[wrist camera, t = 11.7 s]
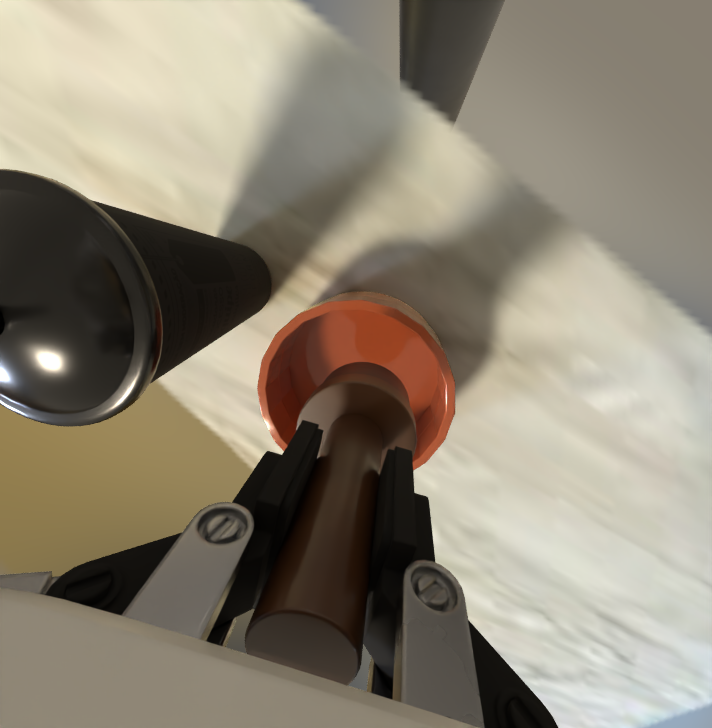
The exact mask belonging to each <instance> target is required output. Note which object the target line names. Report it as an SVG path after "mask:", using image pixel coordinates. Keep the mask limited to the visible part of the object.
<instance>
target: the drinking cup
mask: <svg viewBox="0 0 712 728" xmlns="http://www.w3.org/2000/svg"><path fill="white" fill-rule="evenodd" d="M270 292H271V278H270V273H269V270H268V268H267V266H266V264H265V262H264V261H263V259H262V258H261V257H260V256H259V255H258V254H257V253H256V252H255V251H253V250H252V249H250V248H248V247H246V246H244V245H241V244H237V243H234V242H230V241H227V240H224V239H220V238H217V237H214V236H210V235H207V234H203V233H200V232H197V231H193V230H190V229H186V228H183V227H180V226H176V225H173V224H170V223H166V222H163V221H159V220H156V219H153V218H149V217H146V216H143V215H139V214H136V213H132V212H129V211H126V210H122V209H119V208H116V207H112V206H109V205H105V204H102V203H99V202H95V201H92V200H89V199H88V198H86V197H85V196H83V195H82V194H81V193H79V192H77V191H76V190H74V189H72V188H70V187H68V186H66V185H65V184H62V183H60V182H58V181H55V180H53V179H50V178H47V177H44V176H41V175H37V174H33V173H28V172H23V171H18V170H9V169H0V404H1V405H3V406H4V407H6V408H8V409H9V410H11V411H13V412H15V413H17V414H19V415H22V416H24V417H26V418H29V419H32V420H35V421H38V422H41V423H46V424H50V425H57V426H83V425H90V424H94V423H98V422H101V421H104V420H107V419H109V418H111V417H113V416H115V415H117V414H118V413H120V412H122V411H123V410H125V409H126V408H128V407H129V406H130V405H132V404H133V403H134V402H135V401H136V400H137V399H138V398H139V397H140V396H141V395H142V394H143V392H144V391H145V390H146V388H147V386H148V385H149V384H150V383H152V382H153V381H155V380H156V379H158V378H159V377H161V376H162V375H164V374H165V373H167V372H168V371H170V370H171V369H173V368H174V367H176V366H177V365H179V364H180V363H182V362H183V361H185V360H186V359H188V358H189V357H191V356H192V355H194V354H196V353H197V352H199V351H200V350H202V349H203V348H205V347H206V346H208V345H209V344H211V343H212V342H214V341H215V340H217V339H218V338H220V337H221V336H223V335H224V334H226V333H227V332H229V331H230V330H232V329H233V328H235V327H236V326H238V325H239V324H241V323H242V322H244V321H245V320H247V319H248V318H250V317H251V316H253V315H254V314H256V313H257V312H259V311H260V310H261V309H262V308H263V307H264V306H265V304H266V303H267V301H268V299H269V296H270Z"/></svg>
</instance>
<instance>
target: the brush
mask: <svg viewBox="0 0 712 728" xmlns="http://www.w3.org/2000/svg"><path fill="white" fill-rule="evenodd" d="M302 420H305V421H309V422H312V423H316V424H319V426H318V429H321V430H323V435H322V440H321V444H320V448H319V452H318V456H317V460H316V462H315V465H314V467H313V470H312V472H311V474H310V477H309V479H308V482H307V484H306V487H305V489H304V492H303V494H302V497H301V499H300V501H299V504H298V506H297V509H296V511H295V514H294V516H293V519H292V521H291V524H290V526H289V528H288V531H287V533H286V536H285V538H284V541H283V543H282V546H281V548H280V550H279V553H278V555H277V557H276V559H275V562H274V564H273V566H272V569H271V571H270V574H269V576H268V579H267V581H266V584H265V586H264V588H263V591H262V593H261V596H260V598H259V601H258V603H257V606H256V608H255V611H254V613H253V616H252V618H251V620H250V623H249V625H248V628H247V630H246V634H245V648H246V652H247V654H248V655H252V656H255V657H258V658H261V659H264V660H268V661H271V662H274V663H277V664H280V665H284V666H287V667H290V668H293V669H296V670H300V671H303V672H306V673H309V674H312V675H315V676H319V677H322V678H325V679H328V680H331V681H335V682H338V683H341V684H344V685H349V684H350V683H351V682H352V681H353V680H354V678H355V677H356V675H357V673H358V671H359V669H360V665H361V659H362V649H363V639H364V629H365V618H366V608H367V598H368V588H369V574H370V564H371V554H372V544H373V534H374V524H375V514H376V504H377V494H378V484H379V475H380V472H381V469H382V466H383V463H384V460H385V457H386V454H387V451H388V449H392V450H394V448H395V446H397V447H401V448H404V449H408V450H411V451H412V458H413V456H414V453H415V449H416V442H417V436H416V423H415V418H414V414H413V411H412V409H411V407H410V402H409V396H408V393H407V390H406V388H405V386H404V385H403V383H402V382H401V380H400V379H399V378H398V377H397V376H396V375H395V374H394V373H393V372H391V371H390V370H388V369H387V368H385V367H383V366H381V365H378V364H375V363H370V362H354V363H349V364H346V365H343V366H341V367H339V368H337V369H336V370H334V371H333V372H332V373H331V374H330V375H329V376H328V377H327V378H326V379H325V381H324V382H323V384H321V385H320V386H319V387H317V388H316V389H315V390H314V391H313V393H312V394H311V395H310V397H309V398H308V400H307V401H306V403H305V404H304V406H303V408H302V409H301V412H300V414H299V417H298V420H297V426H296V431H297V429H298V427H299V425H300V424H301V422H302Z"/></svg>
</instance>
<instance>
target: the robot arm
mask: <svg viewBox="0 0 712 728" xmlns="http://www.w3.org/2000/svg"><path fill="white" fill-rule="evenodd" d="M318 426H319V424H316V423H312V422H309V421H305V420H302V422H301V424H300V425H299V427H298V429H297V431H296V432H295V434H294V436H293V437H292V439H291V441H290V442H289V444H288V446H287V448H286V449H285V451H284V453H283V454H282V455H280V454H277V453H273V452H270V451H267V452H266V453H265V454H264V456H263V457H262V459H261V460H260V462H259V463H258V465H257V466H256V468H255V469H254V471H253V472H252V474H251V475H250V477H249V478H248V480H247V481H246V482H245V484H244V486H243V487H242V488H241V490H240V491H239V493H238V494H237V496H236V497H235V499H234V500H233V502H232V503H230V502H220V503H215V504H212V505H208V506H207V507H205V508H203V509H201V510H200V511H199V512H198V513H197V514H196V515H195V516H194V517H193V519H192V520H191V521H190V523H189V524H188V525H187V527H186V528H185V530H184V531H183V532H182V533H179V534H176V535H173V536H170V537H166V538H163V539H160V540H157V541H153V542H150V543H147V544H144V545H141V546H137V547H135V548H131V549H128V550H124V551H121V552H118V553H115V554H112V555H109V556H105V557H102V558H99V559H96V560H93V561H89V562H86V563H84V564H81V565H79V566H77V567H74V568H73V569H71V570H70V571H68V572H66V573H65V574H63V575H62V576H59V577H52V571H49V572H35V573H21V574H8V575H0V728H558V726H557V724H556V722H555V721H554V719H553V717H552V715H551V714H550V712H549V711H548V710H547V708H546V707H545V706H544V705H543V703H542V702H541V701H540V700H539V699H538V697H537V696H536V695H535V694H534V693H533V692H532V691H531V690H530V688H529V687H528V686H527V685H526V684H525V683H524V682H523V681H522V680H521V678H520V677H519V676H518V675H517V674H516V673H515V672H514V671H513V669H512V668H511V667H510V666H509V665H508V664H507V663H506V662H505V661H504V659H503V658H502V657H501V656H500V655H499V654H498V653H497V652H496V650H495V649H494V648H493V647H492V646H491V645H490V644H489V643H488V642H487V640H486V639H485V638H484V637H483V636H482V635H481V634H480V633H479V631H478V630H477V629H476V628H475V627H474V626H473V625H472V624H471V623H470V621H469V620H468V616H467V610H466V603H465V597H464V594H463V590H462V587H461V586H460V584H459V582H458V581H457V579H456V578H455V577H454V576H453V575H452V574H451V572H450V571H448V570H447V569H446V568H444V567H443V566H442V565H440V564H437V563H435V555H434V545H433V536H432V526H431V517H430V508H429V500H428V497H426V496H423V495H419V494H416V493H414V478H413V458H412V451H411V450H408V449H404V448H401V447H397V446H395V448H394V450H392V449H388V451H387V454H386V457H385V460H384V463H383V466H382V469H381V472H380V475H379V484H378V494H377V504H376V514H375V524H374V534H373V544H372V554H371V564H370V574H369V588H368V598H367V608H366V618H365V629H364V639H363V644H364V645H365V647H366V649H367V650H368V652H369V653H370V655H371V661H370V665H369V675H368V685H367V692H366V691H363V690H360V689H357V688H354V687H350V686H347V685H344V684H341V683H338V682H335V681H331V680H328V679H325V678H322V677H319V676H315V675H312V674H309V673H306V672H303V671H300V670H296V669H293V668H290V667H287V666H284V665H280V664H277V663H274V662H271V661H268V660H264V659H261V658H258V657H255V656H252V655H248V654H245V653H242V652H239V651H235V650H232V649H229V648H226V645H227V643H228V640H229V638H230V635H231V633H232V631H233V628H234V625H235V623H236V619H237V616H239V615H241V614H243V613H245V612H247V611H249V610H251V609H255V608H256V606H257V603H258V601H259V598H260V596H261V593H262V591H263V588H264V586H265V584H266V581H267V579H268V576H269V574H270V571H271V569H272V566H273V564H274V562H275V559H276V557H277V555H278V553H279V550H280V548H281V546H282V543H283V541H284V538H285V536H286V533H287V531H288V528H289V526H290V524H291V521H292V519H293V516H294V514H295V511H296V509H297V506H298V504H299V501H300V499H301V497H302V494H303V492H304V489H305V487H306V484H307V482H308V479H309V477H310V474H311V472H312V470H313V467H314V465H315V462H316V460H317V456H318V452H319V448H320V444H321V440H322V435H323V430H321V429H318Z"/></svg>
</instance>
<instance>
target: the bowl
mask: <svg viewBox="0 0 712 728" xmlns="http://www.w3.org/2000/svg"><path fill="white" fill-rule="evenodd" d="M354 362H370V363H375V364H378V365H381V366H383V367H385V368H387V369H388V370H390V371H391V372H393V373H394V374H395V375H396V376H397V377H398V378H399V379H400V380H401V382H402V383H403V385H404V386H405V388H406V390H407V393H408V396H409V402H410V407H411V409H412V411H413V414H414V418H415V423H416V436H417V442H416V449H415V453H414V456H413V470H415V469H417V468H418V467H420V466H421V465H423V464H425V463H426V462H427V461H428V460H429V459H430V457H431V456H432V455H433V454H434V453H435V451H436V450H437V449H438V448H439V447H440V445H441V444H442V443H443V442H444V440H445V438H446V436H447V433H448V430H449V427H450V425H451V422H452V419H453V417H454V414H455V380H454V378H453V375H452V372H451V369H450V366H449V363H448V360H447V357H446V355H445V352H444V350H443V348H442V346H441V343H440V341H439V339H438V337H437V335H436V333H435V332H434V331H433V330H432V328H431V327H430V325H429V324H428V323H427V322H426V320H425V319H424V318H423V317H422V316H421V314H419V313H418V312H417V311H416V310H414V309H413V308H412V307H410V306H409V305H407V304H406V303H404V302H402V301H400V300H398V299H396V298H394V297H391V296H388V295H385V294H381V293H376V292H369V291H358V292H348V293H341V294H339V295H336V296H334V297H331V298H329V299H326V300H324V301H321V302H319V303H317V304H315V305H314V306H312V307H310V308H308V309H307V310H305V311H303V312H301V313H300V314H298V315H297V316H296V317H295V318H293V319H292V320H291V321H290V322H289V323H288V324H287V325H286V326H284V327H283V328H282V329H281V330H280V331H279V332H278V333H277V334H276V335H275V337H274V339H273V340H272V342H271V344H270V346H269V348H268V349H267V351H266V353H265V355H264V357H263V358H262V362H261V368H260V374H259V380H258V386H257V387H258V388H257V389H258V396H259V402H260V408H261V414H262V417H263V419H264V421H265V423H266V425H267V427H268V429H269V431H270V433H271V435H272V437H273V439H274V440H275V442H276V443H277V444H278V445H279V446H280V447H281V448H282V450H283V451H285V449H286V448H287V446H288V444H289V442H290V441H291V439H292V437H293V436H294V434H295V432H296V426H297V420H298V417H299V414H300V412H301V409H302V408H303V406H304V404H305V403H306V401H307V400H308V398H309V397H310V395H311V394H312V393H313V391H314V390H315V389H316V388H317V387H319V386H320V385H321V384H323V382H324V381H325V379H326V378H327V377H328V376H329V375H330V374H331V373H332V372H333V371H334V370H336V369H337V368H339V367H341V366H343V365H346V364H349V363H354Z"/></svg>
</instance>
